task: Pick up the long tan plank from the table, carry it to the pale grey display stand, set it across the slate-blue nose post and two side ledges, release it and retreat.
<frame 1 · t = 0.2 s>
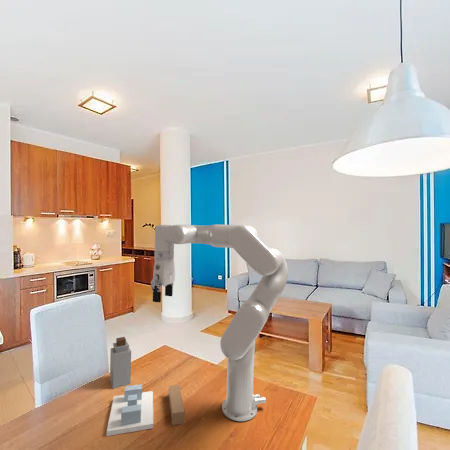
hand: (162, 298, 108), 36 cm above the table, tool pointing down, fingers open, 9 cm apart
display stand: (132, 413, 95), on the table
perfume bottle: (120, 382, 113), on the table
long tan plank: (176, 408, 98), on the table
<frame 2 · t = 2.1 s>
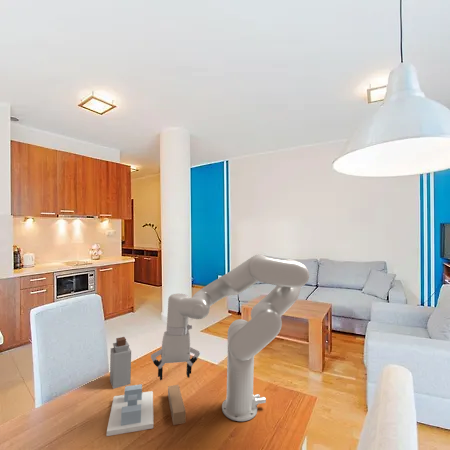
hand: (174, 376, 98), 11 cm above the table, tool pointing down, fingers open, 9 cm apart
nothing on the table moved.
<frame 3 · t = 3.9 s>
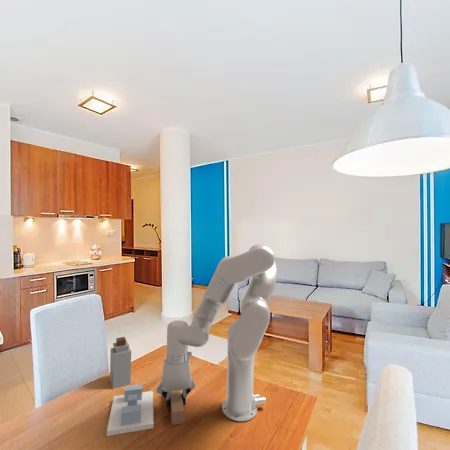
hand: (175, 407, 98), 0 cm above the table, tool pointing down, fingers closed on long tan plank, 4 cm apart
long tan plank: (175, 408, 98), on the table, touching gripper
everything else where it was.
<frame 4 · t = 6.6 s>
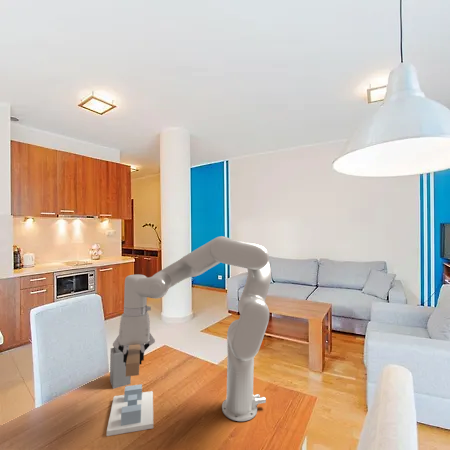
hand: (133, 362, 95), 17 cm above the table, tool pointing down, fingers closed on long tan plank, 4 cm apart
long tan plank: (133, 363, 95), point 17 cm above the table, touching gripper
everything else where it was.
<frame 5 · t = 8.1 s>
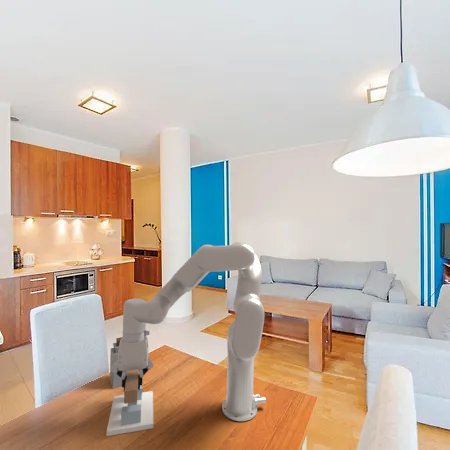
hand: (132, 387, 95), 9 cm above the table, tool pointing down, fingers closed on long tan plank, 4 cm apart
long tan plank: (132, 388, 95), point 9 cm above the table, touching gripper
everything else where it was.
when the fingers open (7 cm above the table, at t = 9.3 s): long tan plank stays where it is, resting on display stand.
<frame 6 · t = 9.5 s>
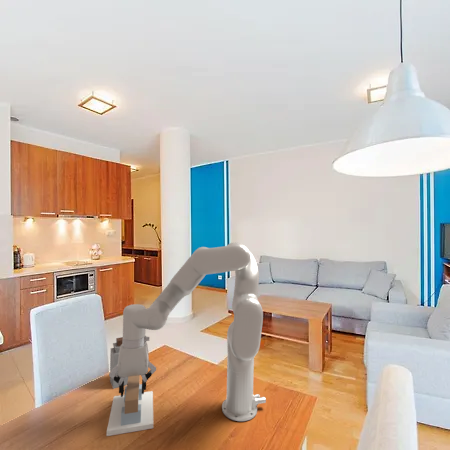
hand: (132, 392, 95), 7 cm above the table, tool pointing down, fingers open, 6 cm apart
long tan plank: (132, 397, 95), point 5 cm above the table, touching display stand
everything else where it was.
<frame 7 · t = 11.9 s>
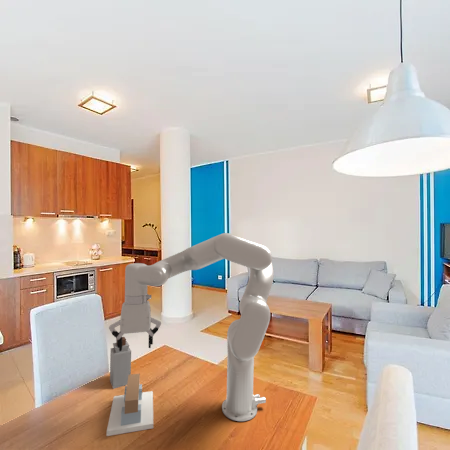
hand: (135, 348, 95), 22 cm above the table, tool pointing down, fingers open, 9 cm apart
nothing on the table moved.
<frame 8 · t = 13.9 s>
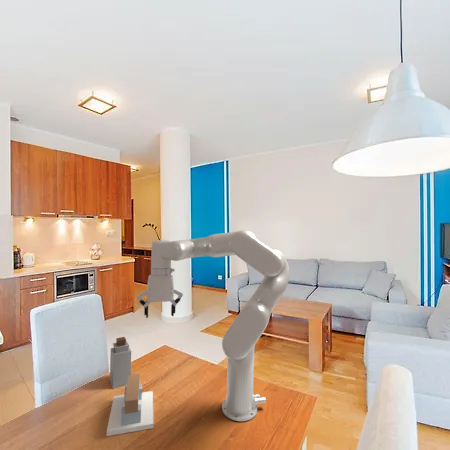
hand: (159, 316, 106), 30 cm above the table, tool pointing down, fingers open, 9 cm apart
nothing on the table moved.
at the end: long tan plank 0.2 cm off-centre on the display stand, point 5.5 cm above the display stand's base; long tan plank tilted 0°; the gripper is holding nothing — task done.
